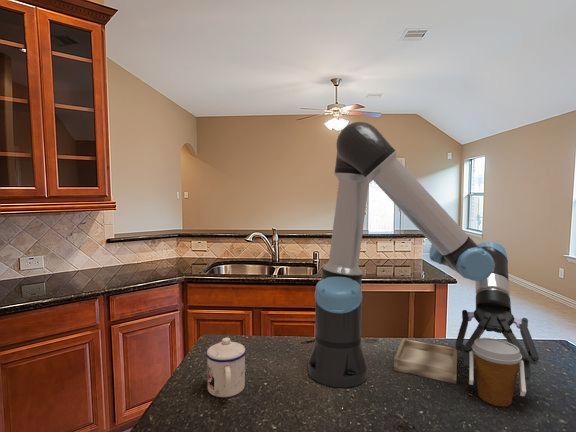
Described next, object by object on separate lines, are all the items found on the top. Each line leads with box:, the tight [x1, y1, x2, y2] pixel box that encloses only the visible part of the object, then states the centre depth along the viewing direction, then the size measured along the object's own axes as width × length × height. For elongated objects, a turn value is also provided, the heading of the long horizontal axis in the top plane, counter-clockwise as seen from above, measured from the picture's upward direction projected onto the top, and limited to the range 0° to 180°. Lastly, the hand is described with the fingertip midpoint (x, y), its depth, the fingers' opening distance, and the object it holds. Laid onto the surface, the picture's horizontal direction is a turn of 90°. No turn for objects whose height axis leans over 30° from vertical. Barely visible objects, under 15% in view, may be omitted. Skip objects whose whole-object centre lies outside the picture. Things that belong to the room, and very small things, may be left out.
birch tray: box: [393, 338, 458, 385], centre depth 92 cm, size 15×15×3 cm
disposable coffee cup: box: [472, 337, 522, 407], centre depth 76 cm, size 10×10×12 cm
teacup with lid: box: [205, 337, 247, 398], centre depth 78 cm, size 12×9×12 cm
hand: (496, 387), depth 73 cm, fingers closed on disposable coffee cup, 9 cm apart
